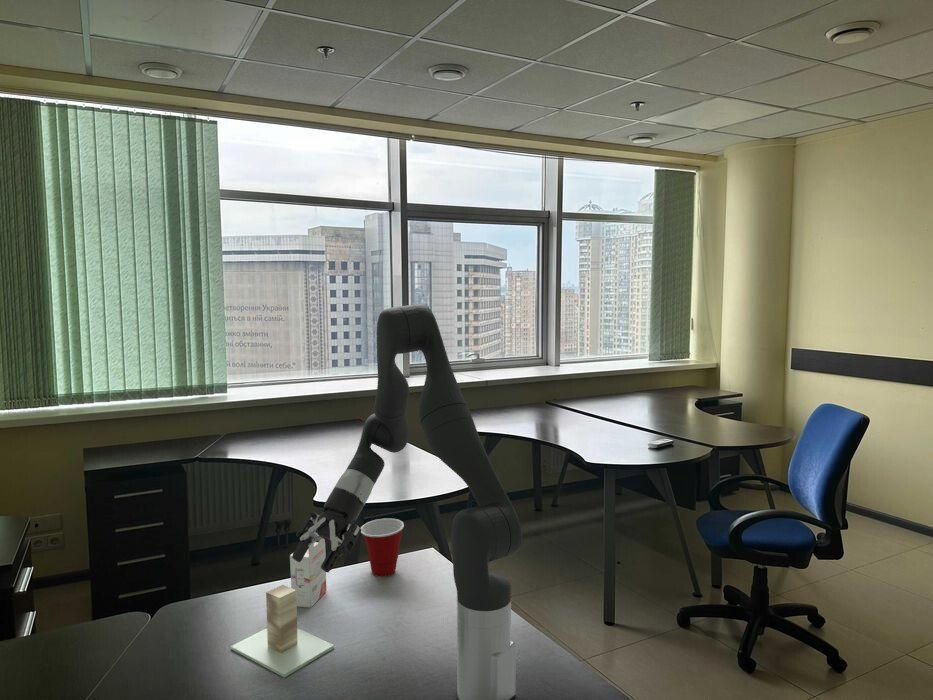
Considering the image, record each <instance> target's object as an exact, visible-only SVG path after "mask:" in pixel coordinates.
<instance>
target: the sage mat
mask: <svg viewBox="0 0 933 700" xmlns="http://www.w3.org/2000/svg"><path fill="white" fill-rule="evenodd" d="M297 640H298V644H297V645H295V646H293V647H291V648H290V649H288V650H286V651H284V652H283V653H279V652H277V651H275V650H273V649H271V648H269V647H268V640H267V627H266V628H264V629H262V630H261V631H258V632H257V633H255V634H252V635H251V636H249V637H246V638H245V639H243V640H241V641H238V642H237V643H234V644H233V645H231V646H230V649H231V650H232V651H234V652H235V653H238V654H239V655H242V656H243V657H244V658H247V659H249V660H250V661H252V662H254V663H256V664H258V665H260V666H262V667H263V668H266V669H267V670H269V671H271V672H273V673H276V675H279V676H280V677H283V678H286V677H288V676H290V675H292V674H293V673H295V672H296V671H298V670H299V669H301V668H303V667H305V666H306V665H308V664H310V663H311V662H313V661H315V660H316V659H319V658H320V657H321V656H323V655H325V654H326V653H328V652H329V651H332V650H333V649H334V648H335V644H332V643H331V642H329V641H325V640H324V639H322V638H320V637H318V636H315V635H314V634H311V633H309V632H307V631H304V630H302V629H299V628H298V627H297Z"/></svg>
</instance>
